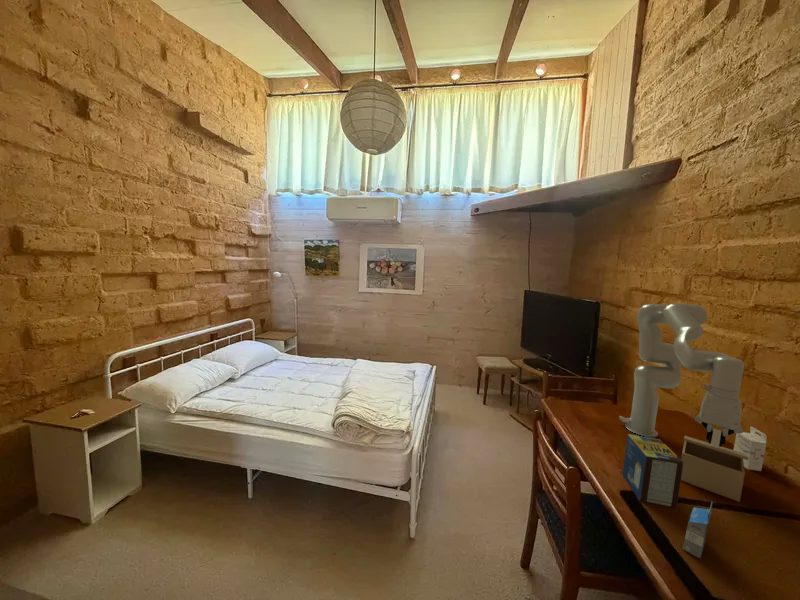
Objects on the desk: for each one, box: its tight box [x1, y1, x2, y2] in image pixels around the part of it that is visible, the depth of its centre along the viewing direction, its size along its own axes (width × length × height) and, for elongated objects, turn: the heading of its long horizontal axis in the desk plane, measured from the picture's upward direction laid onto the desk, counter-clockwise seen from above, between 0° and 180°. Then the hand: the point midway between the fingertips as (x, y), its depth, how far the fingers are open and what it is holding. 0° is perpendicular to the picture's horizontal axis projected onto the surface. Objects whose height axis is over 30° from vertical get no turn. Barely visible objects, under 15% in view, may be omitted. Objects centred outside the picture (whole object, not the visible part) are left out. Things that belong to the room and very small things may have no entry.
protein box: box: [621, 433, 684, 509], centre depth 116 cm, size 10×15×16 cm
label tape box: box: [682, 502, 713, 559], centre depth 92 cm, size 9×4×12 cm, turn 133°
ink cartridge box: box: [733, 426, 768, 472], centre depth 137 cm, size 9×5×15 cm, turn 168°
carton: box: [680, 441, 746, 503], centre depth 124 cm, size 16×16×10 cm
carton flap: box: [683, 427, 748, 460], centre depth 124 cm, size 16×16×7 cm
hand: (714, 443), depth 120 cm, fingers closed on carton flap, 2 cm apart
